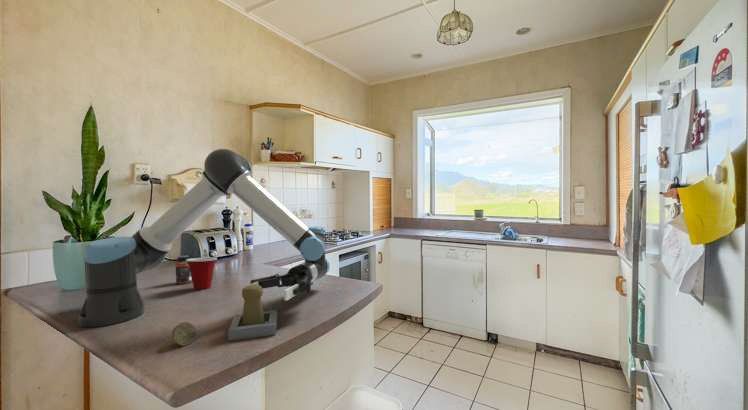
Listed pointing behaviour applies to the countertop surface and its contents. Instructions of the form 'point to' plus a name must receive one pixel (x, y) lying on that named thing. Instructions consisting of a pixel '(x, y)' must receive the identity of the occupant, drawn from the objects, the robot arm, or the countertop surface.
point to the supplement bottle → (183, 271)
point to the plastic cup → (201, 272)
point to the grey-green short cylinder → (183, 333)
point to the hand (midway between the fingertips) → (263, 294)
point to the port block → (253, 327)
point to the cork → (252, 305)
